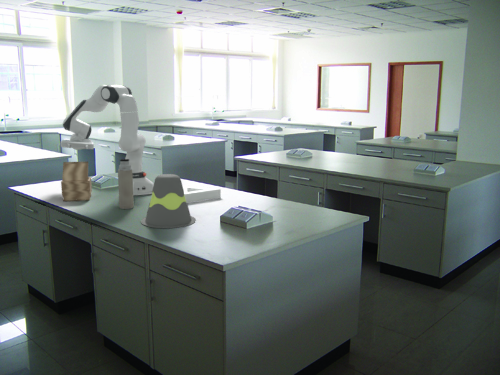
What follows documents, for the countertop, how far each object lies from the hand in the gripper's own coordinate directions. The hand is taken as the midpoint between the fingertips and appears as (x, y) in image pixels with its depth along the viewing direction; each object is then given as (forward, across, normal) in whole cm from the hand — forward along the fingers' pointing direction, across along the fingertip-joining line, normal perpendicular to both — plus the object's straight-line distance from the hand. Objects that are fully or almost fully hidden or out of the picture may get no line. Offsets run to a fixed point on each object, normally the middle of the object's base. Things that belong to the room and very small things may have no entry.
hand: (77, 147), depth 284 cm
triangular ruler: (+37, +67, +21) cm, 79 cm away
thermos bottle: (+51, +26, +23) cm, 62 cm away
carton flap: (+18, -1, +11) cm, 21 cm away
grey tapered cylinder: (+87, +43, +17) cm, 99 cm away
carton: (+18, +1, +28) cm, 34 cm away
